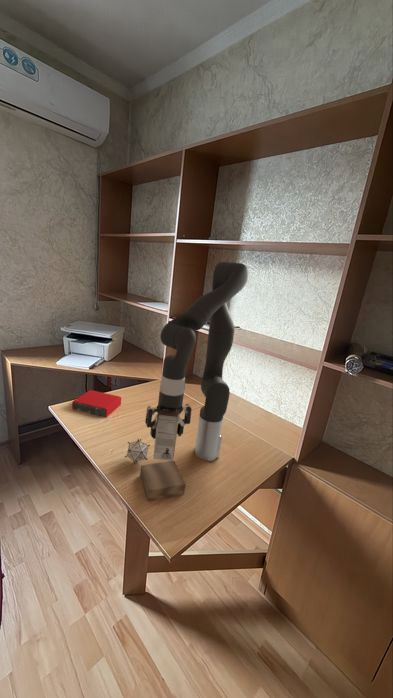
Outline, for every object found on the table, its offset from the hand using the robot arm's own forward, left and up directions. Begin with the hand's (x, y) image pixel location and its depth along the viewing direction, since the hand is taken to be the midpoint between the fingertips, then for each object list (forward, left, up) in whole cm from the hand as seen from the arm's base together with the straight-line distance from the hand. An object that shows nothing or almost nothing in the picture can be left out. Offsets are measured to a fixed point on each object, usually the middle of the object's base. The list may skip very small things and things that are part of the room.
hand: (166, 436), depth 93 cm
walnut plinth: (0, 0, -18) cm, 18 cm away
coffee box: (0, 0, -6) cm, 6 cm away
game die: (+6, -13, -19) cm, 23 cm away
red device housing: (+17, -58, -19) cm, 63 cm away
